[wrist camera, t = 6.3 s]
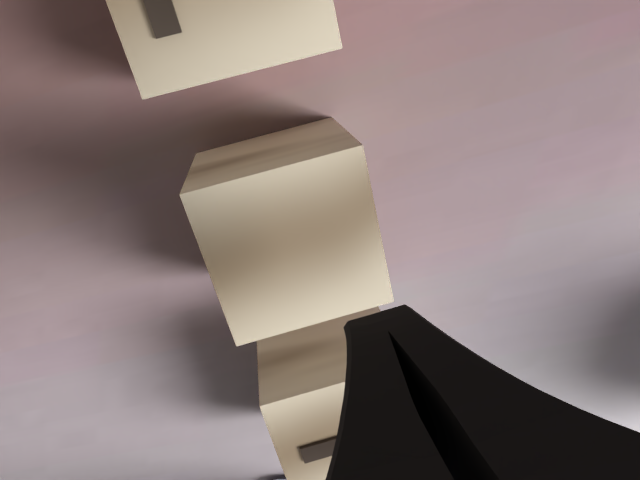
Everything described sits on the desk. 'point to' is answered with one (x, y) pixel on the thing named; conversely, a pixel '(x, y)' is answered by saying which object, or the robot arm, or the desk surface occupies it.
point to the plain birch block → (288, 229)
